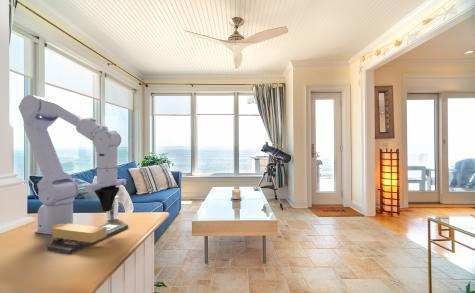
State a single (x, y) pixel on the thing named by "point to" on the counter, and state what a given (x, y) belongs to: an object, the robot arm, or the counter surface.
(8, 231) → the counter surface
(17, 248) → the counter surface
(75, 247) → the panel
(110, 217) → the milkshake
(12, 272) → the counter surface
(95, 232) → the light wooden plank
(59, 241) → the pivot plinth
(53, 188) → the robot arm
